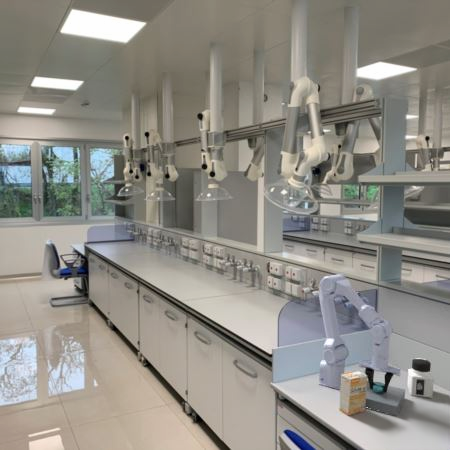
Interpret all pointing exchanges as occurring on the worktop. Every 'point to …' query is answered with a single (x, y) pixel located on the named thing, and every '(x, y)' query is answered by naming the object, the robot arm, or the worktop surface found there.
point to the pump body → (385, 400)
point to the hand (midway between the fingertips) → (378, 390)
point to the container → (420, 378)
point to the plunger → (378, 387)
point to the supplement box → (353, 392)
